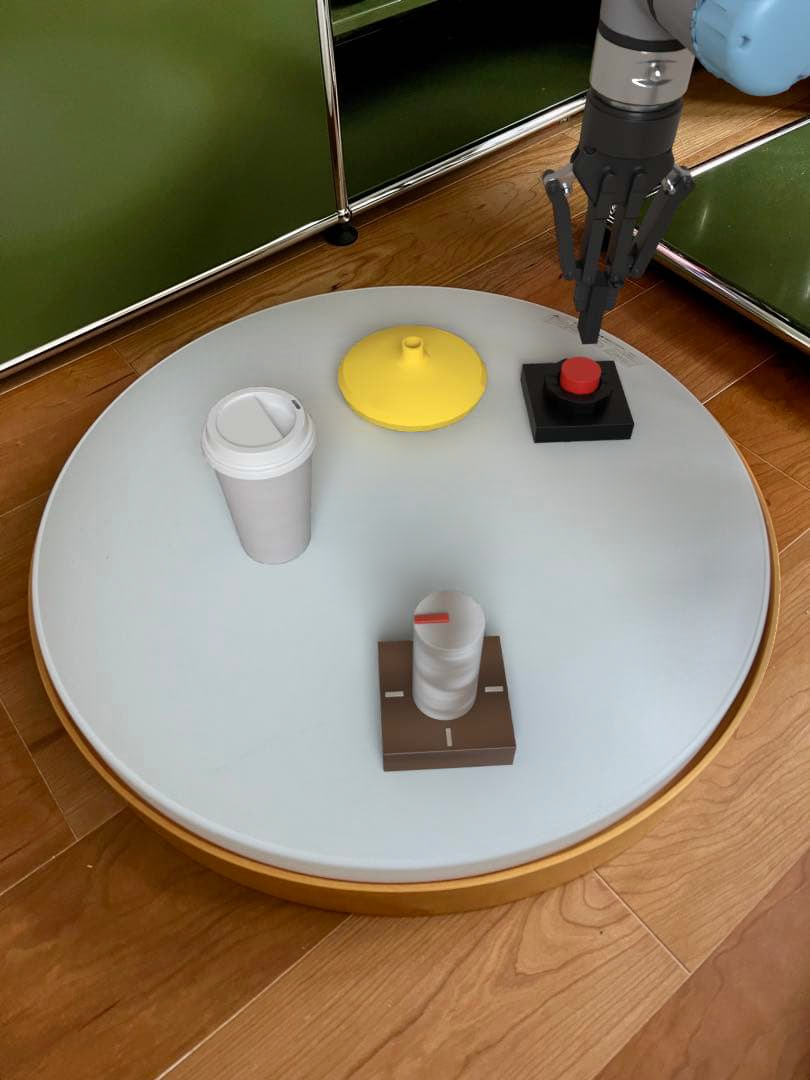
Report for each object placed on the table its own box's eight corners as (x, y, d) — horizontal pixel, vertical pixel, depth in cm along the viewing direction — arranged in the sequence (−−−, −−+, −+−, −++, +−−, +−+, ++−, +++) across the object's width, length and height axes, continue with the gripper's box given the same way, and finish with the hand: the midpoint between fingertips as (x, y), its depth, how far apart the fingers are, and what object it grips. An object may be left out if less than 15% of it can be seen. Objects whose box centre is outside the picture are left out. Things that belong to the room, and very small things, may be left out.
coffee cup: (331, 572, 81) (319, 455, 70) (225, 583, 80) (195, 467, 69) (323, 494, 87) (311, 375, 76) (224, 504, 86) (196, 385, 75)
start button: (601, 394, 91) (604, 381, 90) (562, 396, 91) (565, 382, 90) (594, 369, 94) (597, 355, 92) (556, 370, 93) (558, 357, 92)
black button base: (630, 439, 92) (638, 410, 89) (534, 443, 92) (538, 414, 89) (610, 375, 98) (617, 346, 95) (520, 379, 98) (524, 350, 95)
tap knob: (472, 662, 72) (481, 586, 64) (479, 718, 68) (489, 645, 60) (410, 666, 71) (411, 589, 63) (414, 722, 68) (416, 649, 60)
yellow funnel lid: (379, 466, 90) (377, 414, 84) (315, 375, 98) (310, 322, 93) (513, 417, 94) (520, 364, 89) (440, 333, 103) (442, 281, 98)
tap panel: (512, 765, 69) (516, 746, 67) (383, 772, 69) (383, 753, 66) (496, 654, 76) (499, 634, 73) (378, 660, 75) (377, 640, 73)
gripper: (561, 115, 67) (526, 362, 85) (732, 111, 67) (661, 357, 86) (545, 70, 72) (515, 314, 90) (705, 67, 72) (643, 309, 91)
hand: (587, 335), depth 88 cm, fingers closed
